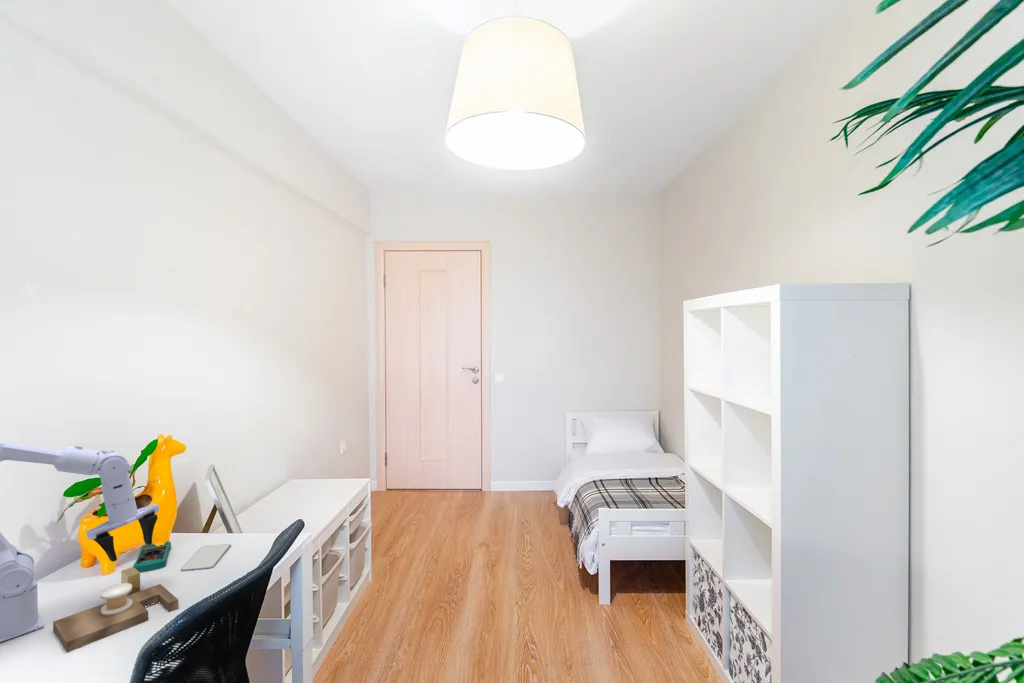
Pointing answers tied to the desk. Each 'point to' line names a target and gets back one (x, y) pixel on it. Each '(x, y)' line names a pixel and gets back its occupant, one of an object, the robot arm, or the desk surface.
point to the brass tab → (131, 579)
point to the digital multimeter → (152, 557)
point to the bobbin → (116, 599)
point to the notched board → (110, 618)
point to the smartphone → (206, 557)
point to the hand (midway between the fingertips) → (131, 551)
